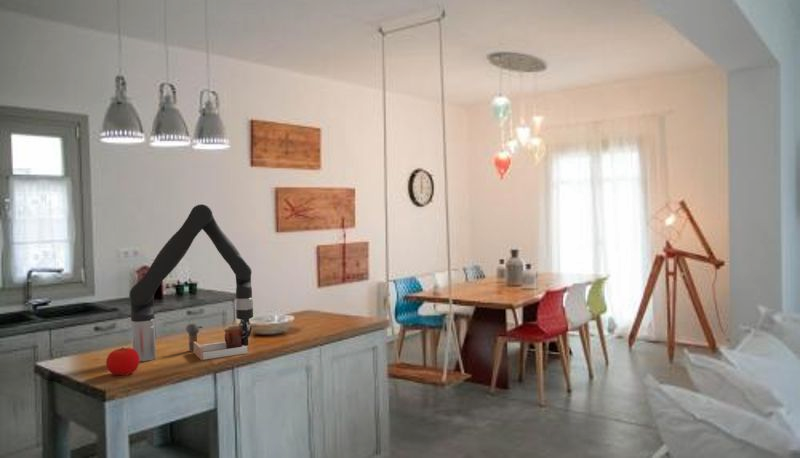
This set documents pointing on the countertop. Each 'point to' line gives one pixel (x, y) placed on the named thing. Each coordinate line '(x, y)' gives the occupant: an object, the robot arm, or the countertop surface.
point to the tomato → (122, 361)
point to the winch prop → (192, 334)
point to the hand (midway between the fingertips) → (245, 345)
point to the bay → (203, 355)
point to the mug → (233, 337)
